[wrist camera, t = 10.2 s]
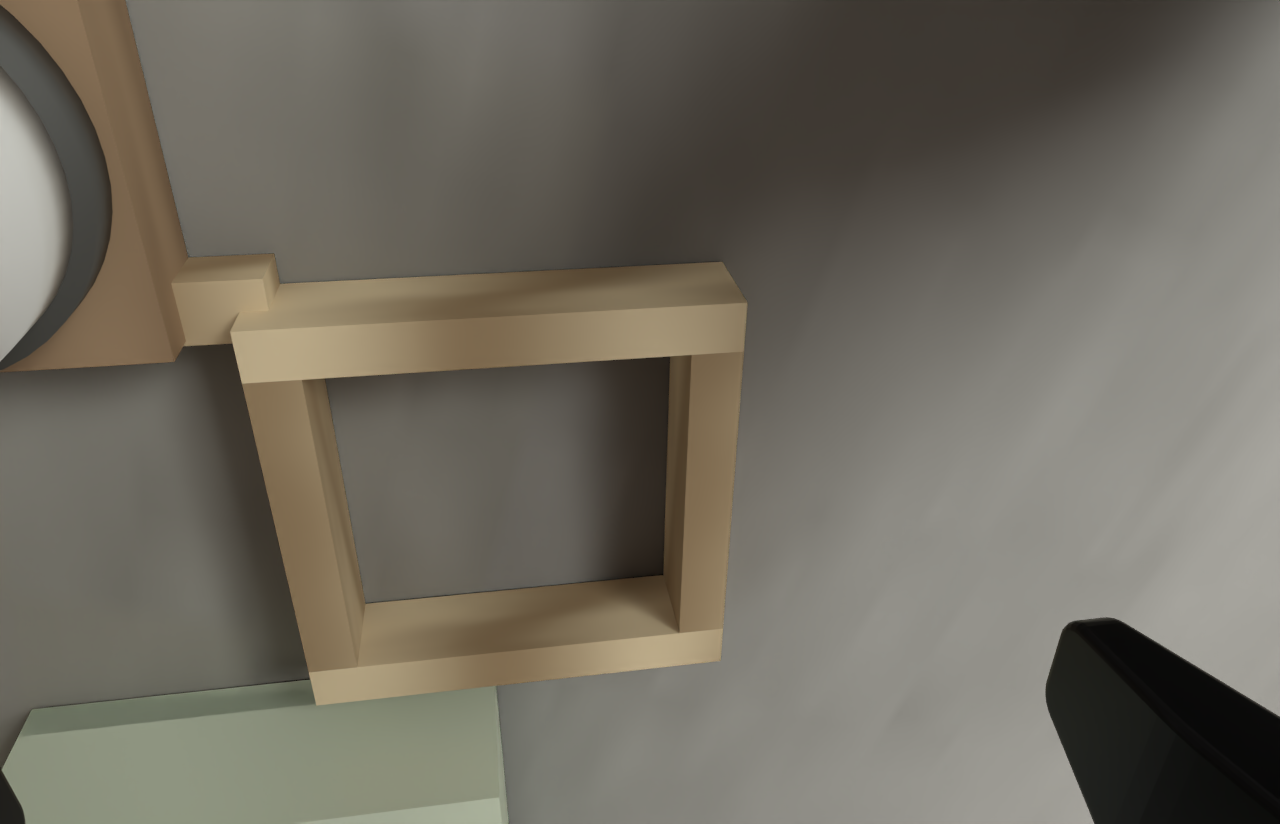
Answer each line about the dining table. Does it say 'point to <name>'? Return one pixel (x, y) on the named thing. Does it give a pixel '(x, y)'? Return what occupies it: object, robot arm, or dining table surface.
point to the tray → (263, 759)
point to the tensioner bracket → (352, 373)
